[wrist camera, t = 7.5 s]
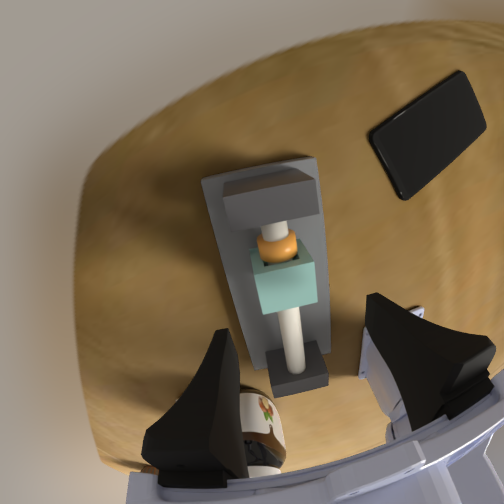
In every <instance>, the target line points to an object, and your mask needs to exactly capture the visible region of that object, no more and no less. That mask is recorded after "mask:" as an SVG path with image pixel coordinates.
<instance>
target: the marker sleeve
mask: <svg viewBox="0 0 504 504" xmlns="http://www.w3.org/2000/svg"><path fill="white" fill-rule="evenodd" d="M296 242H297V250H298V252H297V254H296V255H295V256H294V257H293V258H292V259H293V261H288V262H284V263H279V264H275V265H270V266H268V262H265V261H263V260H262V259H261V258H260V253H259V249H258V247H257V248H252V249H249V250H250V256H251V262H252V267H253V273H254V278H255V282H256V287H257V291H258V295H259V300H260V304H261V308H262V313H263V315H264V314H269V313H273V312H278V311H282V310H287V309H291V308H295V307H300V306H304V305H308V304H312V303H316V302H318V298H317V286H316V275H315V264H314V260H313V259H312V257H311V256H310V254H309V252H308V251H307V249H306V248H305V246H304V244H303V243H302V241H301V240H300V238H299V239H296Z"/></svg>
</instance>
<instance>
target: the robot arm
mask: <svg viewBox="0 0 504 504" xmlns="http://www.w3.org/2000/svg"><path fill="white" fill-rule="evenodd" d="M423 313H424V308H423V307H422V306H421V307H418V308H415V309H413V310H410V311H407V310H406V309H404V308H402V307H401V306H399V305H397V304H396V303H394V302H392V301H391V300H389V299H387V298H386V297H384V296H383V295H381V294H379V293H377V292H376V293H373V294H369V295H367V299H366V315H365V327H364V329H363V340H362V349H361V358H360V366H359V373H358V378H359V379H364V378H367V380H368V382H369V384H370V386H371V388H372V391H373V393H374V395H375V397H376V399H377V401H378V403H379V406H380V408H381V410H382V411H383V413H384V414H385V415H387V416H388V417H390V419H391V422H390V423H389V424H388V425H387V428H386V434H385V438H386V444H384V445H381V446H378V447H376V448H373V449H371V450H368V451H365V452H362V453H359V454H356V455H353V456H350V457H347V458H344V459H341V460H337V461H334V462H330V463H327V464H323V465H319V466H315V467H311V468H306V469H302V470H297V471H292V472H287V473H281V474H275V475H269V476H261V477H253V478H250V477H249V472H248V467H247V461H246V455H245V449H244V442H243V435H242V427H241V419H240V370H239V362H238V355H237V352H236V349H235V346H234V343H233V341H232V338H231V335H230V332H229V329H228V328H226V329H220V330H216V331H215V333H214V336H213V339H212V341H211V344H210V346H209V348H208V351H207V353H206V355H205V357H204V359H203V362H202V364H201V365H200V367H199V369H198V371H197V373H196V375H195V376H194V378H193V380H192V381H191V383H190V384H189V386H188V387H187V389H186V390H185V391H184V393H183V394H182V395H181V397H180V398H179V399H178V400H177V401H176V403H175V404H174V405H173V406H172V407H171V408H170V409H169V410H168V411H167V412H166V413H165V414H164V415H163V416H162V417H161V418H160V419H159V420H158V421H157V422H155V423H154V424H153V425H152V426H150V427H149V428H148V429H147V430H146V433H145V436H144V440H143V446H142V452H141V455H142V458H143V459H144V460H145V461H147V462H148V463H149V464H151V465H152V466H154V467H155V468H157V469H158V470H159V473H158V475H154V474H149V473H140V472H130V475H129V483H128V491H127V498H126V504H504V487H503V485H502V483H501V481H500V479H499V477H498V475H497V473H496V471H495V469H494V467H493V466H492V464H491V462H490V460H489V458H488V456H487V455H486V453H485V452H486V449H487V447H488V445H489V443H490V440H491V438H492V436H493V433H494V432H495V431H497V430H498V429H499V428H500V427H501V426H502V425H503V424H504V369H503V370H502V371H500V372H499V373H498V374H496V375H495V376H494V377H493V378H492V379H491V380H490V379H489V378H488V376H489V375H490V373H489V372H488V370H487V368H488V366H489V364H490V363H491V361H492V359H493V357H494V355H495V352H496V346H495V345H494V344H493V342H492V341H491V340H490V339H489V338H488V337H487V336H484V335H475V334H468V333H463V332H459V331H455V330H451V329H448V328H445V327H442V326H439V325H436V324H434V323H432V322H429V321H427V320H425V319H423V318H422V317H423Z"/></svg>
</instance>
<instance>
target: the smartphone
mask: <svg viewBox="0 0 504 504" xmlns="http://www.w3.org/2000/svg"><path fill="white" fill-rule="evenodd" d="M486 127H487V126H486V122H485V119H484V116H483V113H482V111H481V108H480V105H479V103H478V101H477V98H476V96H475V93H474V91H473V89H472V87H471V84H470V82H469V80H468V78H467V76H466V74H465V73H464V72H463V71H457V72H456V73H454V74H453V75H451V76H450V77H448V78H447V79H445V80H444V81H442V82H441V83H439V84H438V85H436V86H435V87H433V88H432V89H430V90H429V91H427V92H426V93H424V94H423V95H422V96H420V97H419V98H417V99H416V100H414V101H413V102H411V103H410V104H408V105H407V106H406V107H404V108H403V109H401V110H400V111H398V112H397V113H396V114H394V115H393V116H391V117H390V118H389V119H387V120H386V121H384V122H383V123H382V124H380V125H379V126H377V127H376V128H375V129H373V130H372V131H371V132H370V134H369V142H370V143H371V145H372V147H373V149H374V150H375V152H376V154H377V156H378V158H379V159H380V161H381V163H382V165H383V167H384V169H385V170H386V172H387V174H388V176H389V178H390V180H391V182H392V184H393V186H394V188H395V190H396V192H397V194H398V196H399V198H400V199H401V200H404V201H406V200H409V199H410V198H411V197H412V196H414V195H415V194H416V193H417V192H418V191H419V190H421V189H422V188H423V187H424V186H425V185H426V184H428V183H429V182H430V181H431V180H432V179H433V178H434V177H436V176H437V175H438V174H439V173H440V172H441V171H442V170H444V169H445V168H446V167H447V166H448V165H449V164H450V163H451V162H452V161H453V160H455V159H456V158H457V157H458V156H459V155H460V154H461V153H462V152H463V151H464V150H465V149H466V148H467V147H469V146H470V145H471V144H472V143H473V142H474V141H475V140H476V139H477V138H478V137H479V136H480V135H481V134H482V133H483V132H484V131H485V130H486Z"/></svg>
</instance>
